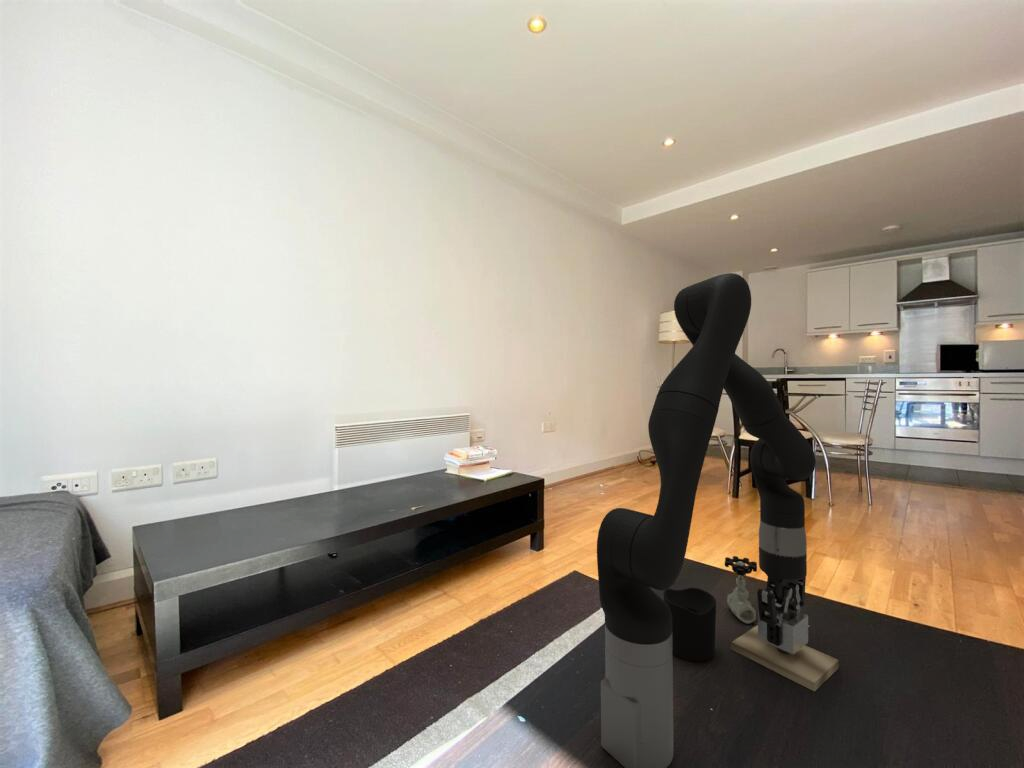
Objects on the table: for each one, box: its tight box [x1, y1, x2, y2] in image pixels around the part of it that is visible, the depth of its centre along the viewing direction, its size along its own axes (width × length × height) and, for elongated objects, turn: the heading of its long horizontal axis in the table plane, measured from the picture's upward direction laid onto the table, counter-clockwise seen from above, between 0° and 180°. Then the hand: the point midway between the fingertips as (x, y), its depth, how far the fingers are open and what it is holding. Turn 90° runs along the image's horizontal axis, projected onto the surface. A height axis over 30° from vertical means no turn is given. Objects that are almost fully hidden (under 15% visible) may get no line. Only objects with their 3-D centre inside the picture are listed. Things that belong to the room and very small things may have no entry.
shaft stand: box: [731, 610, 840, 692], centre depth 82 cm, size 10×14×10 cm
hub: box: [757, 603, 809, 655], centre depth 82 cm, size 6×6×5 cm
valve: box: [724, 555, 758, 625], centre depth 96 cm, size 7×7×12 cm
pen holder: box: [662, 587, 717, 663], centre depth 85 cm, size 9×9×10 cm
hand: (782, 636), depth 82 cm, fingers closed on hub, 6 cm apart
